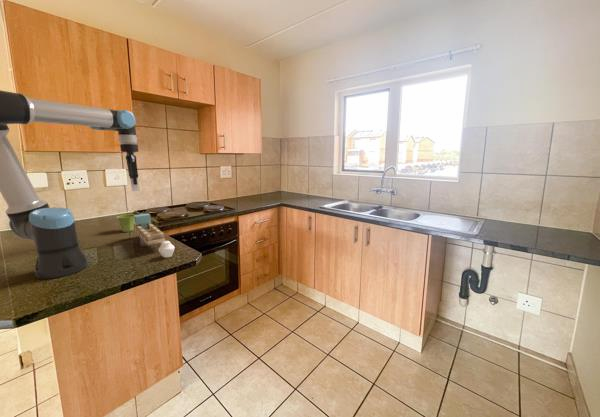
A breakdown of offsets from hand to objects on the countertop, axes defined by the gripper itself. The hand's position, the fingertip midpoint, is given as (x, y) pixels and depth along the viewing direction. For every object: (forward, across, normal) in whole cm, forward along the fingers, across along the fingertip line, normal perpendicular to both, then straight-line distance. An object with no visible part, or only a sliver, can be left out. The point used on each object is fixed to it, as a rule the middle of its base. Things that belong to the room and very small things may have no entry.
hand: (135, 190), depth 136 cm
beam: (+24, -17, 0) cm, 30 cm away
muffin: (+25, -41, -2) cm, 48 cm away
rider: (+18, -8, 0) cm, 20 cm away
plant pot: (+25, +17, +4) cm, 30 cm away
